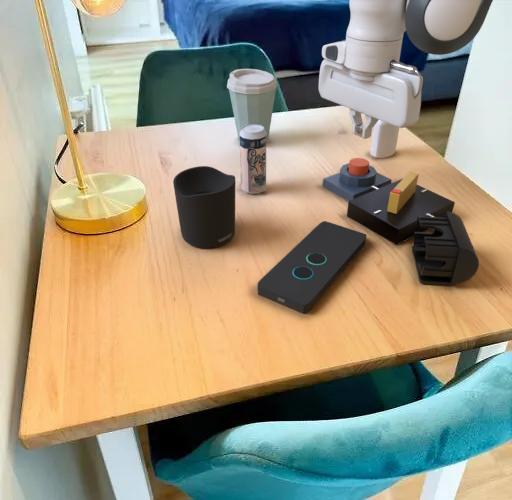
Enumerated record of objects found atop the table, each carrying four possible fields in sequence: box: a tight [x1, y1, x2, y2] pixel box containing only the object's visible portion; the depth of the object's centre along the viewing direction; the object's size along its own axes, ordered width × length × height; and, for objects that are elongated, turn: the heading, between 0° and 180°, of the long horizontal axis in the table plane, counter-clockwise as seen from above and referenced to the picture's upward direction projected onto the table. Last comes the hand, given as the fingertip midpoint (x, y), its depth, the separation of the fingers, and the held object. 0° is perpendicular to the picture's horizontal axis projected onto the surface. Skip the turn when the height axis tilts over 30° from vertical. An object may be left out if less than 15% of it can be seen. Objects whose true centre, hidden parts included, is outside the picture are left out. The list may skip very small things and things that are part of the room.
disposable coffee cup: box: [226, 68, 278, 144], centre depth 109 cm, size 11×11×15 cm
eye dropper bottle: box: [369, 120, 400, 159], centre depth 104 cm, size 4×6×12 cm
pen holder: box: [172, 165, 236, 249], centre depth 80 cm, size 9×9×10 cm
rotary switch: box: [346, 178, 456, 246], centre depth 86 cm, size 14×13×3 cm
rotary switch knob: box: [387, 171, 420, 214], centre depth 84 cm, size 9×2×4 cm, turn 146°
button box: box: [322, 162, 392, 201], centre depth 95 cm, size 10×8×4 cm
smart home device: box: [257, 220, 368, 314], centre depth 75 cm, size 8×2×20 cm
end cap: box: [411, 211, 480, 287], centre depth 73 cm, size 10×7×7 cm
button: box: [348, 157, 370, 176], centre depth 93 cm, size 4×4×2 cm
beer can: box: [239, 124, 267, 195], centre depth 92 cm, size 5×5×12 cm
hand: (361, 135), depth 90 cm, fingers closed
